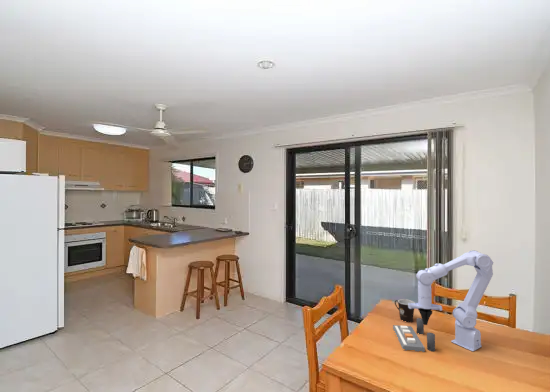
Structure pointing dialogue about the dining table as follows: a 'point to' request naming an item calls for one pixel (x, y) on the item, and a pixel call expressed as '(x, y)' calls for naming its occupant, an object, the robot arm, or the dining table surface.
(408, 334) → the breaker panel
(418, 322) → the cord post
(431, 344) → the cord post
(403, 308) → the coffee mug
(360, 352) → the dining table surface
